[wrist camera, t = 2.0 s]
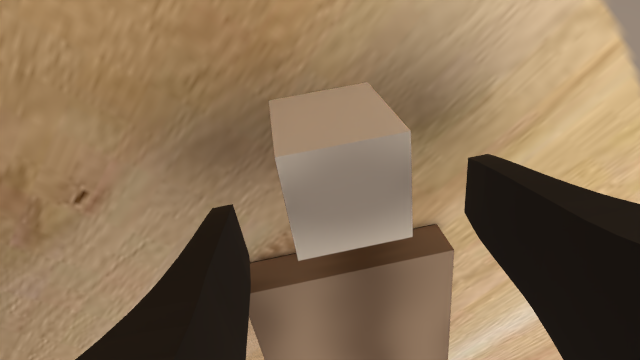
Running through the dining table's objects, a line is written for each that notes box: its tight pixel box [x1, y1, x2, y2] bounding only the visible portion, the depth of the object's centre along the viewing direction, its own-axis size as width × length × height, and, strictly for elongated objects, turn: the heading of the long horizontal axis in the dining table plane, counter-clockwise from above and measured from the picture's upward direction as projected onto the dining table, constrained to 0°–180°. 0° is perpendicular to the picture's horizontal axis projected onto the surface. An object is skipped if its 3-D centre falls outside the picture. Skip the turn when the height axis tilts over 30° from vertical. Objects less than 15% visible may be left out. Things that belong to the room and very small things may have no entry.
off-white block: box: [269, 82, 413, 261], centre depth 14 cm, size 4×4×5 cm
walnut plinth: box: [249, 224, 454, 360], centre depth 21 cm, size 10×10×2 cm
